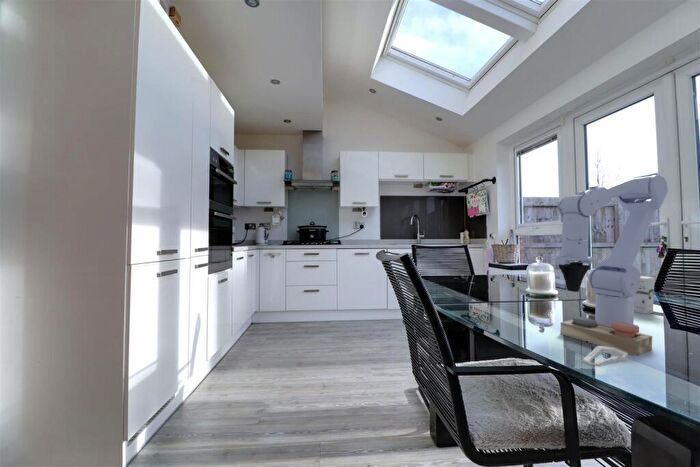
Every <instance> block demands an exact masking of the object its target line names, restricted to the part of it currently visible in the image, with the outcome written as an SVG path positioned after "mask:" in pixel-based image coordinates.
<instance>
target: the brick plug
mask: <svg viewBox="0 0 700 467" xmlns="http://www.w3.org/2000/svg"><path fill="white" fill-rule="evenodd" d="M633 324H634V323H633ZM633 324H629V323H624V322H611V328H613V329H615V334H617V335H621V336H625V337H629V338H635V333H640V327H639V325H638V326H636V325H637V324H635V325H633Z"/></svg>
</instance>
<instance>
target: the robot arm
mask: <svg viewBox="0 0 700 467" xmlns="http://www.w3.org/2000/svg"><path fill="white" fill-rule="evenodd" d="M588 188H589V189H587V190H580V191H577V193H576V194H574V195H566V196H564V197H563V198H562V199H561V200H560V201H559V203H558V205H557V212H558V214H559V216H560V222H561V224H562V226H561V227H562V232H561V255H558V256H555V257H554V265H558V268H559V269H560V271H561V272H562V275H563V278H564V283H565V286H566V290H567V291H569V292H575V293H578V292H579V291H580V289H581V286H582V283H583V280H584V277H585V276H586V274H587V272H588V271H589V270H590V266H591V265H590V264H592V263H593V261H594V258H593V257H592V256H589V239H590V238H589V237H590V236H589V233H590V216H593V215H594V214H595V212H596V210H599V209H601V208H604V207H605V206H609V205H610V203H612V200H613V199H614V198H617V199H618V202H619V204H620V205H621V207H622V209H623V210H624V211H627V213H629V214H628V215H627V218H626V221H625V222H624V225H623V227H622V229H621V232H620V234H619V236H618V238H617V240H616V242H615V244H614V247H613V248H612V251H611V253H610V255H609V256H608V258H606V259H603V260H602V261H599V262H597V264H595V267H594V268H593V269H591V271H590V272H589V274H588V277H587V281H588V285H589V287H590V288H591V289H592V292H593V293H595V307H594V308H595V314H594V317H595V318H594V320H596V321H597V323H598V324H602V325H607V326H611V322H624V323H629V324H633V325H636V326H638V327H639V325H638V324H635V322H634V319H635V318H634V316H635V315H634V314H635V312H634V303H633V300H632V299H631V298H630V297H631V296H633V295H634V294H635V293H636V292H637V291H638V289H639V281H640V277H641V276H642V273H641V271H640V270H639V269H638V267H636V266H635V265H634V263H635V260H636V258H637V256H638V254H639V251H640V249H641V248H642V246H643V242H644V241H645V238H646V237H647V234H648V231H649V229H650V226H651V225H652V223H653V220H654V218H655V216H656V213H657V210H659V209H660V208H661V207H662V206H663V203H664V201H665V199H666V196H667V194H668V191H669V189H668V182H667V180H666V178H665V177H664V176H662V175H661V174H655V175H651V176H644V177H642V176H641V177H635V178H627V179H620V180H615V182H614V183H611V184H609V185H607V186H599V185H598V184H596V185H595V184H594V185H591V186H589V187H588Z"/></svg>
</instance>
